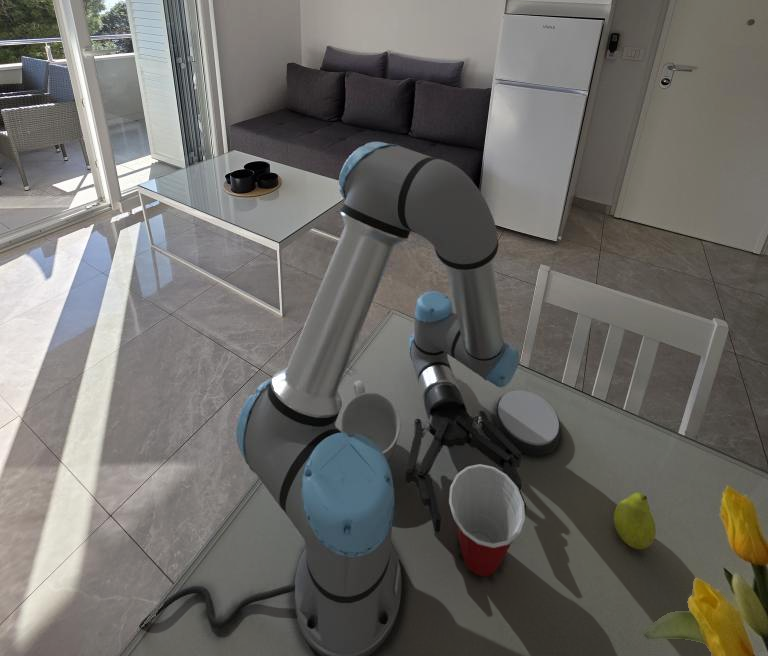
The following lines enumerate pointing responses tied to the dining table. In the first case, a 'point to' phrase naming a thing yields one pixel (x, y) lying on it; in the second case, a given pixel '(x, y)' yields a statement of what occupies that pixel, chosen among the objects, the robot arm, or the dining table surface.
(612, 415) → the dining table surface
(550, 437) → the scale
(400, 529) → the dining table surface
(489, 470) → the plastic cup
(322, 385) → the robot arm
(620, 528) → the fruit
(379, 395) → the teacup
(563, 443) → the dining table surface
